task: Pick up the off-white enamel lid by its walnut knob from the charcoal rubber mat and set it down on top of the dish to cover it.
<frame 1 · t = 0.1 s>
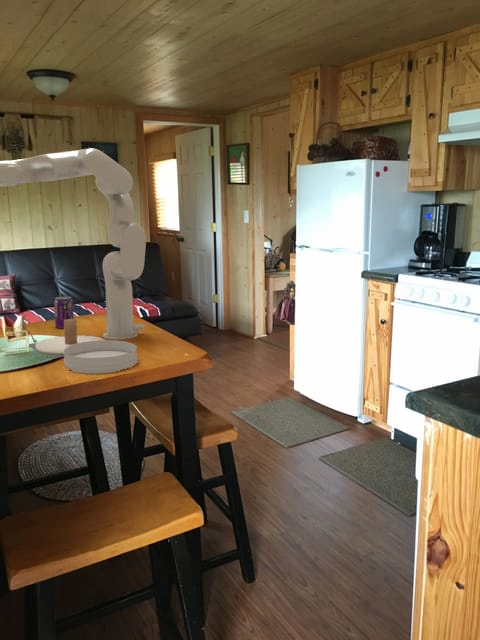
lid: (71, 345, 187), point 1 cm above the table, touching mat
mat: (71, 347, 187), on the table
beverage can: (64, 327, 219), on the table
dish: (101, 364, 169), on the table
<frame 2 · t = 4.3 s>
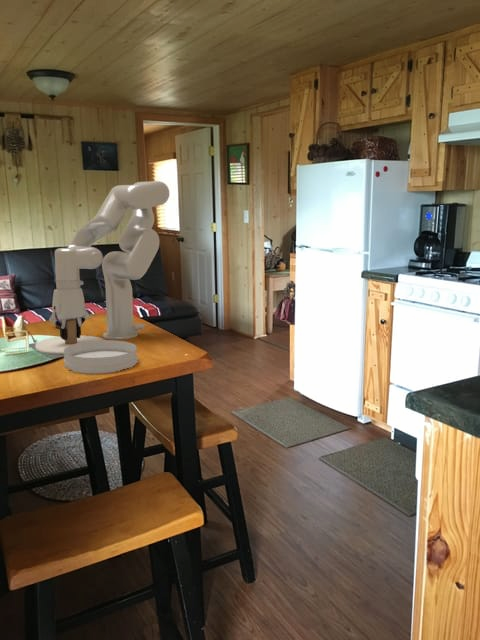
hand: (70, 337, 186), 3 cm above the table, tool pointing down, fingers closed on lid, 4 cm apart
lid: (71, 345, 187), point 1 cm above the table, touching gripper, mat
everything else where it was.
when the fingers open (9 cm above the table, at t = 9.9 s): lid drops 2 cm, resting on dish.
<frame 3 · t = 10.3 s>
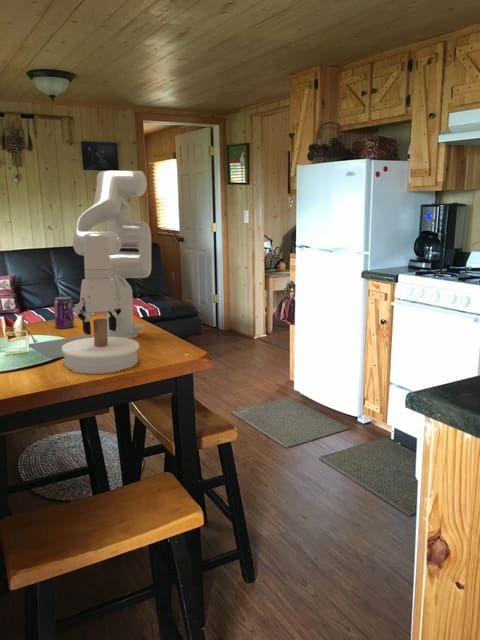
hand: (100, 331, 167), 10 cm above the table, tool pointing down, fingers open, 7 cm apart
lid: (101, 348, 168), point 5 cm above the table, touching dish
dish: (101, 365, 169), on the table, touching lid
everything else where it was.
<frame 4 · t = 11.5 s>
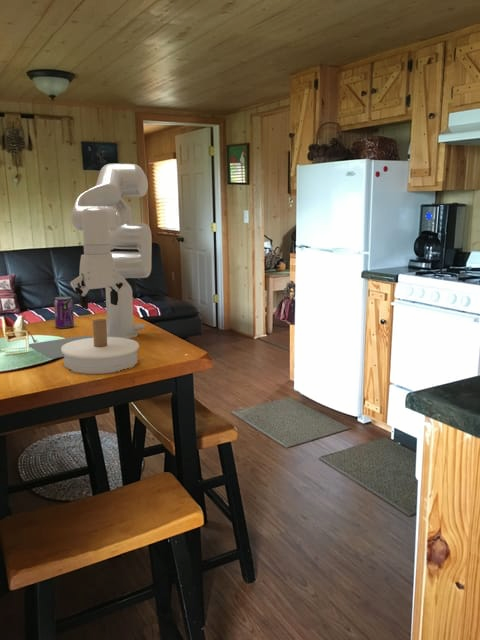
hand: (99, 306, 166), 18 cm above the table, tool pointing down, fingers open, 9 cm apart
nothing on the table moved.
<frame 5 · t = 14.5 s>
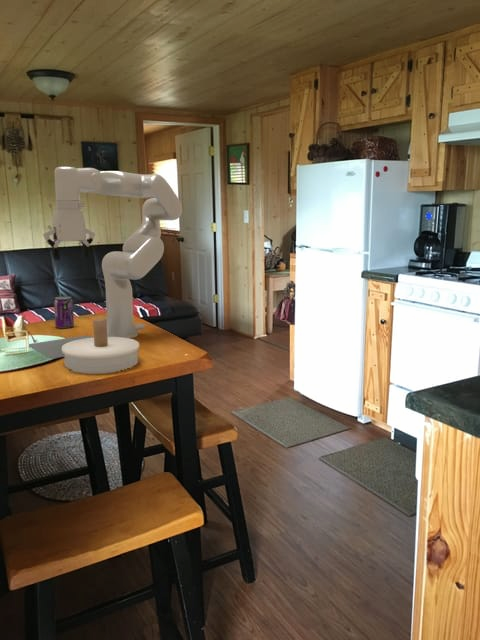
hand: (71, 259, 181), 30 cm above the table, tool pointing down, fingers open, 9 cm apart
nothing on the table moved.
at the end: lid inside the target area on the dish (0.0 cm from its centre), point 5.2 cm above the dish's base; lid tilted 0°; the gripper is holding nothing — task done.
